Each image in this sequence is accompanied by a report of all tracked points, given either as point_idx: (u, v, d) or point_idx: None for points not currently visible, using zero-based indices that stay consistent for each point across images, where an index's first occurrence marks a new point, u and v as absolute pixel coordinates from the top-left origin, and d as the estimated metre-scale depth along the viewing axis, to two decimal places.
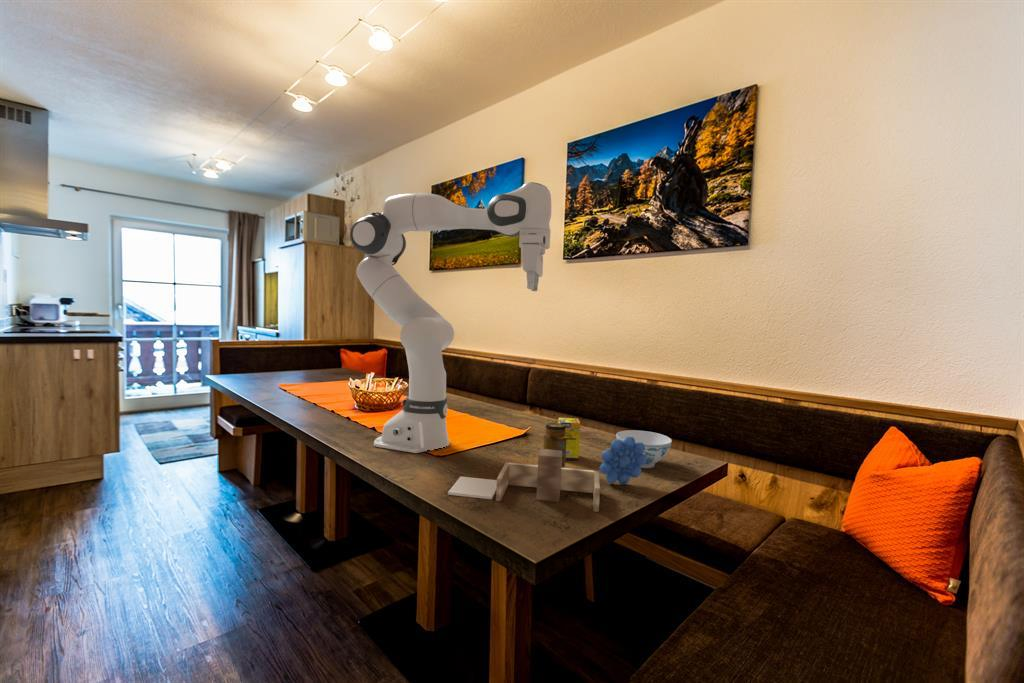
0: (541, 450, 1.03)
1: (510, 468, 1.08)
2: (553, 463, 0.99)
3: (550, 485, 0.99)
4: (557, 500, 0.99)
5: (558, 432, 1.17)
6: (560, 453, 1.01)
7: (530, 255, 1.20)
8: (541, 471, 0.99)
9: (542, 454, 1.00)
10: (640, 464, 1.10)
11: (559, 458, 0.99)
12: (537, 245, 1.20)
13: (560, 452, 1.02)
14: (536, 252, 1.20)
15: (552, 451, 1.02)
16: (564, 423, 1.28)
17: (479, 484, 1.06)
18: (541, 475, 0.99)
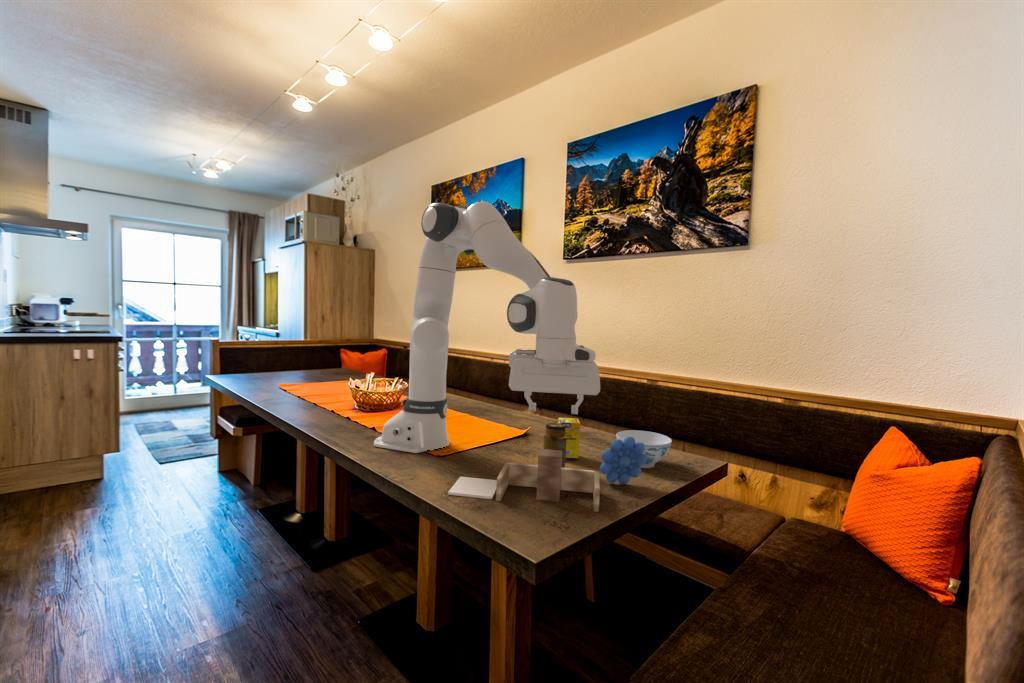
0: (541, 450, 1.03)
1: (510, 468, 1.08)
2: (553, 463, 0.99)
3: (550, 485, 0.99)
4: (557, 500, 0.99)
5: (558, 432, 1.17)
6: (560, 453, 1.01)
7: None
8: (541, 471, 0.99)
9: (542, 454, 1.00)
10: (640, 464, 1.10)
11: (559, 458, 0.99)
12: None
13: (560, 452, 1.02)
14: None
15: (552, 451, 1.02)
16: (564, 423, 1.28)
17: (479, 484, 1.06)
18: (541, 475, 0.99)
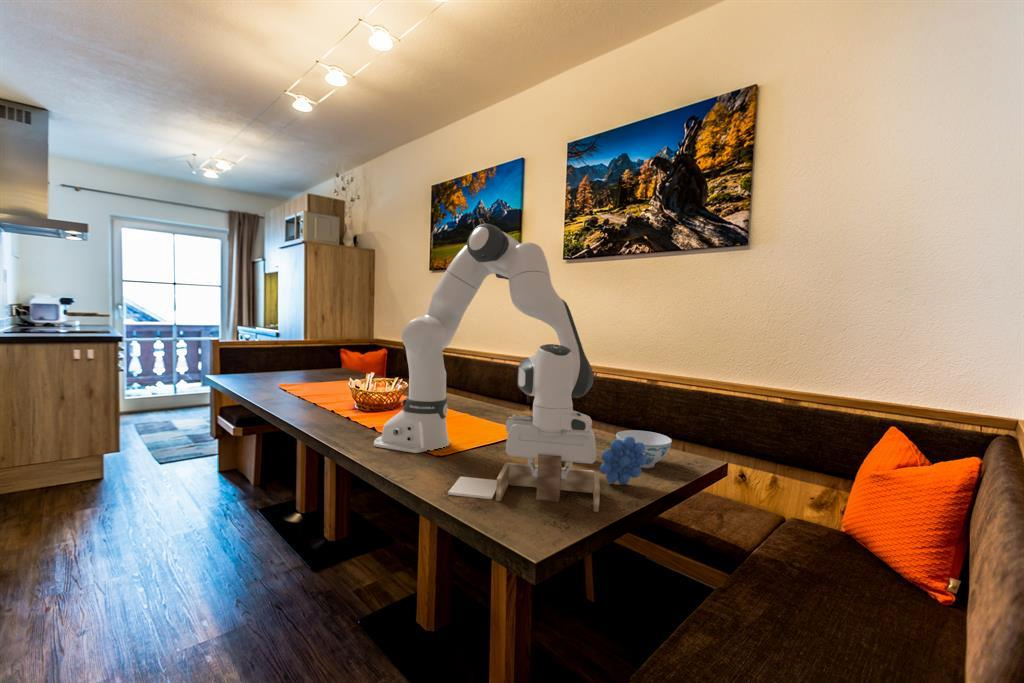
0: None
1: (510, 468, 1.08)
2: (553, 463, 0.99)
3: (550, 485, 0.99)
4: (557, 500, 0.99)
5: None
6: None
7: (595, 444, 1.00)
8: (541, 471, 0.99)
9: None
10: (640, 464, 1.10)
11: (559, 458, 0.99)
12: (591, 429, 1.01)
13: None
14: None
15: None
16: None
17: (479, 484, 1.06)
18: (541, 475, 0.99)
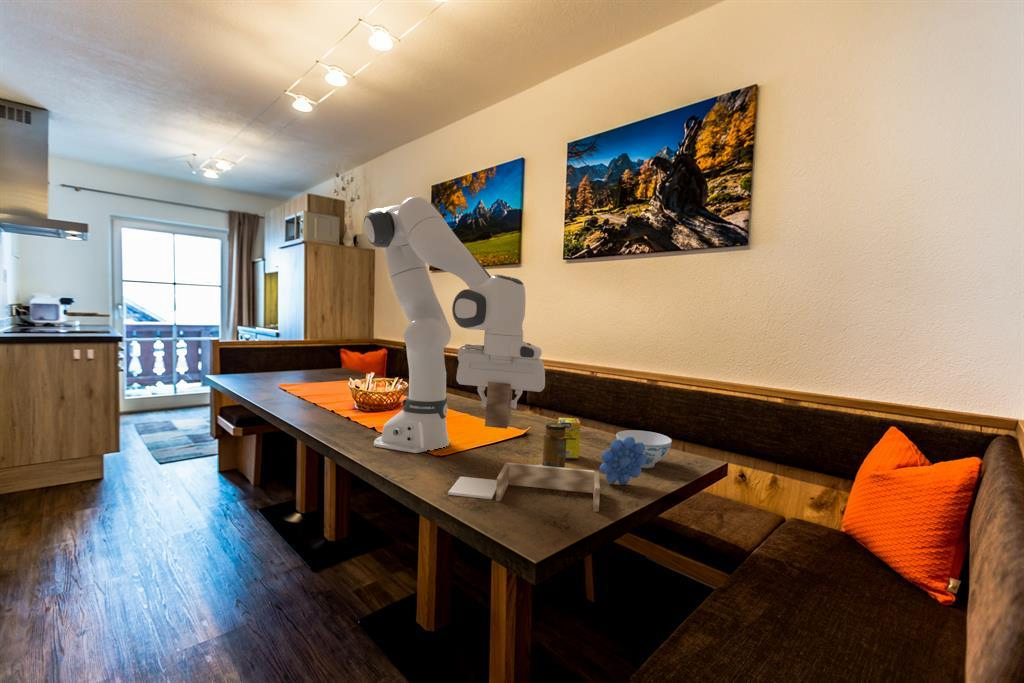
0: None
1: (510, 468, 1.08)
2: (502, 390, 1.01)
3: (499, 412, 1.01)
4: (505, 427, 1.01)
5: (558, 432, 1.17)
6: None
7: (544, 373, 1.02)
8: (491, 398, 1.01)
9: (492, 382, 1.02)
10: (640, 464, 1.10)
11: (508, 385, 1.00)
12: (541, 360, 1.03)
13: None
14: (544, 369, 1.03)
15: None
16: (564, 423, 1.28)
17: (479, 484, 1.06)
18: (490, 402, 1.01)
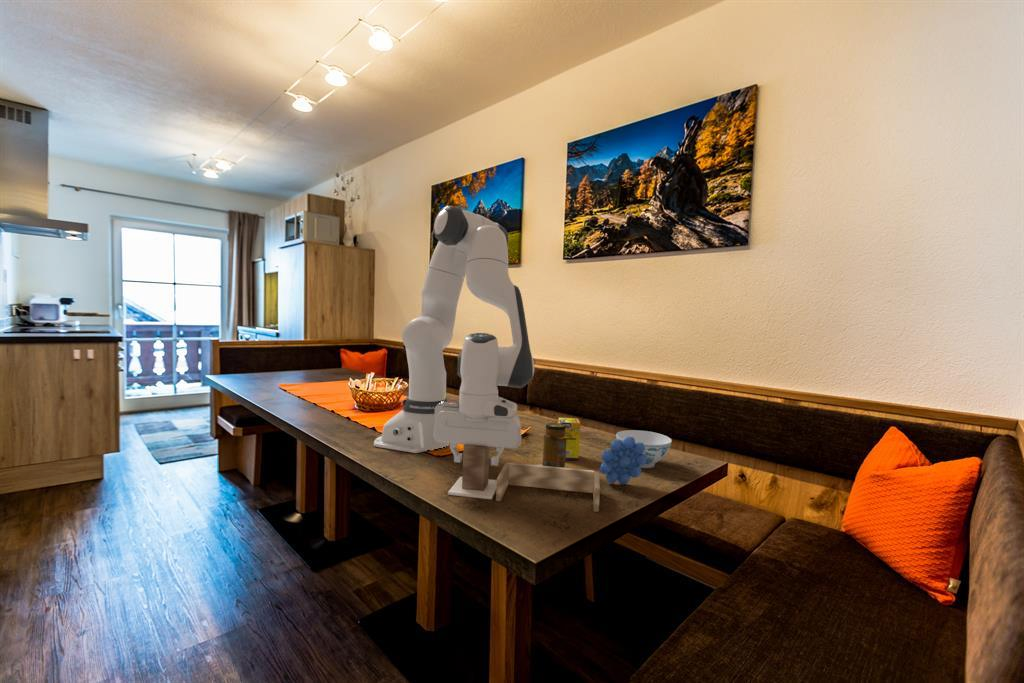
0: None
1: (510, 468, 1.08)
2: (477, 453, 1.01)
3: (475, 475, 1.02)
4: (482, 489, 1.02)
5: (558, 432, 1.17)
6: None
7: (519, 430, 1.02)
8: (467, 461, 1.02)
9: (468, 445, 1.03)
10: (640, 464, 1.10)
11: (483, 448, 1.01)
12: (517, 416, 1.04)
13: None
14: None
15: None
16: (564, 423, 1.28)
17: None
18: (466, 465, 1.02)
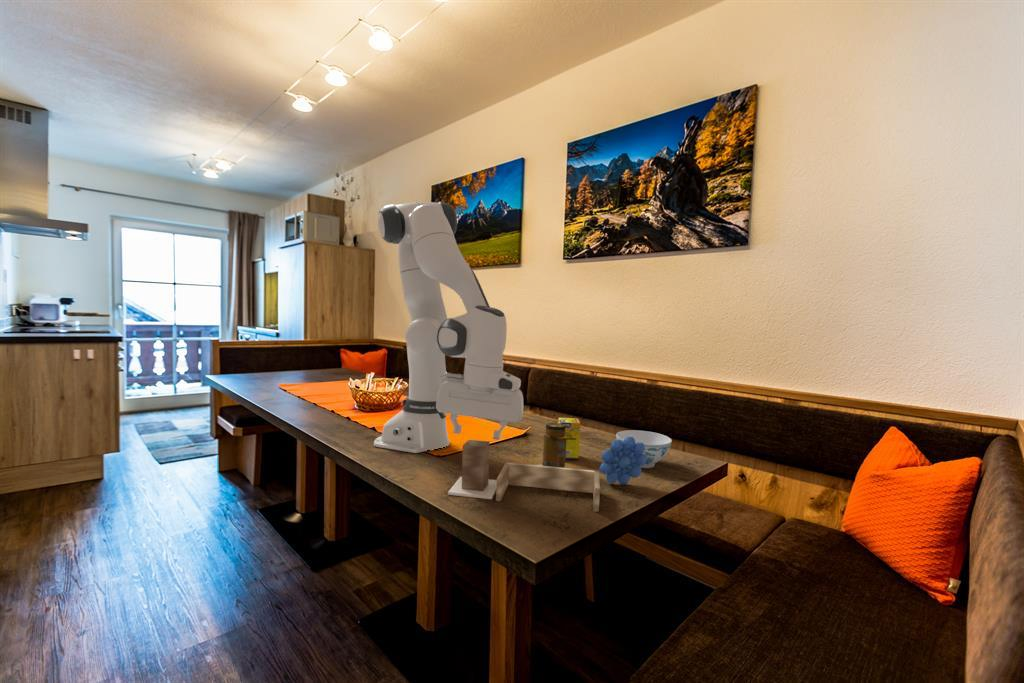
0: (468, 441, 1.06)
1: (510, 468, 1.08)
2: (477, 453, 1.01)
3: (474, 475, 1.02)
4: (481, 489, 1.02)
5: (558, 432, 1.17)
6: (485, 443, 1.04)
7: (522, 404, 1.03)
8: (466, 461, 1.02)
9: (467, 444, 1.03)
10: (640, 464, 1.10)
11: (482, 448, 1.01)
12: (520, 391, 1.05)
13: (486, 443, 1.05)
14: None
15: (478, 442, 1.05)
16: (564, 423, 1.28)
17: None
18: (466, 465, 1.02)
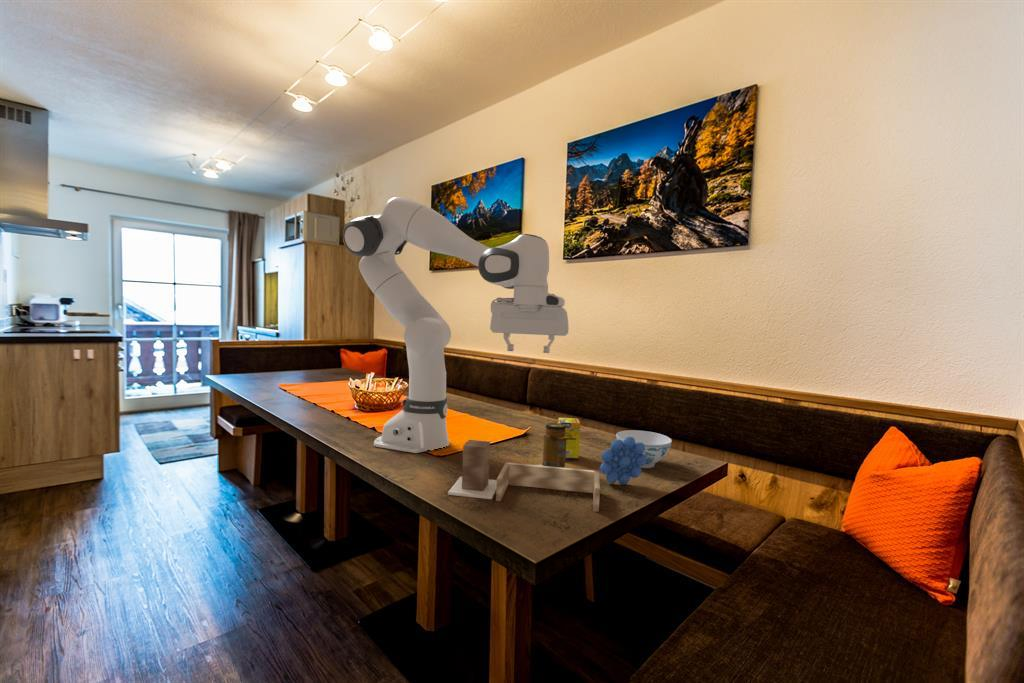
0: (469, 441, 1.06)
1: (510, 468, 1.08)
2: (477, 453, 1.01)
3: (475, 475, 1.02)
4: (481, 489, 1.02)
5: (558, 432, 1.17)
6: (486, 444, 1.04)
7: None
8: (466, 461, 1.02)
9: (467, 444, 1.03)
10: (640, 464, 1.10)
11: (483, 448, 1.01)
12: None
13: (487, 443, 1.05)
14: None
15: (479, 442, 1.05)
16: (564, 423, 1.28)
17: None
18: (466, 465, 1.02)
